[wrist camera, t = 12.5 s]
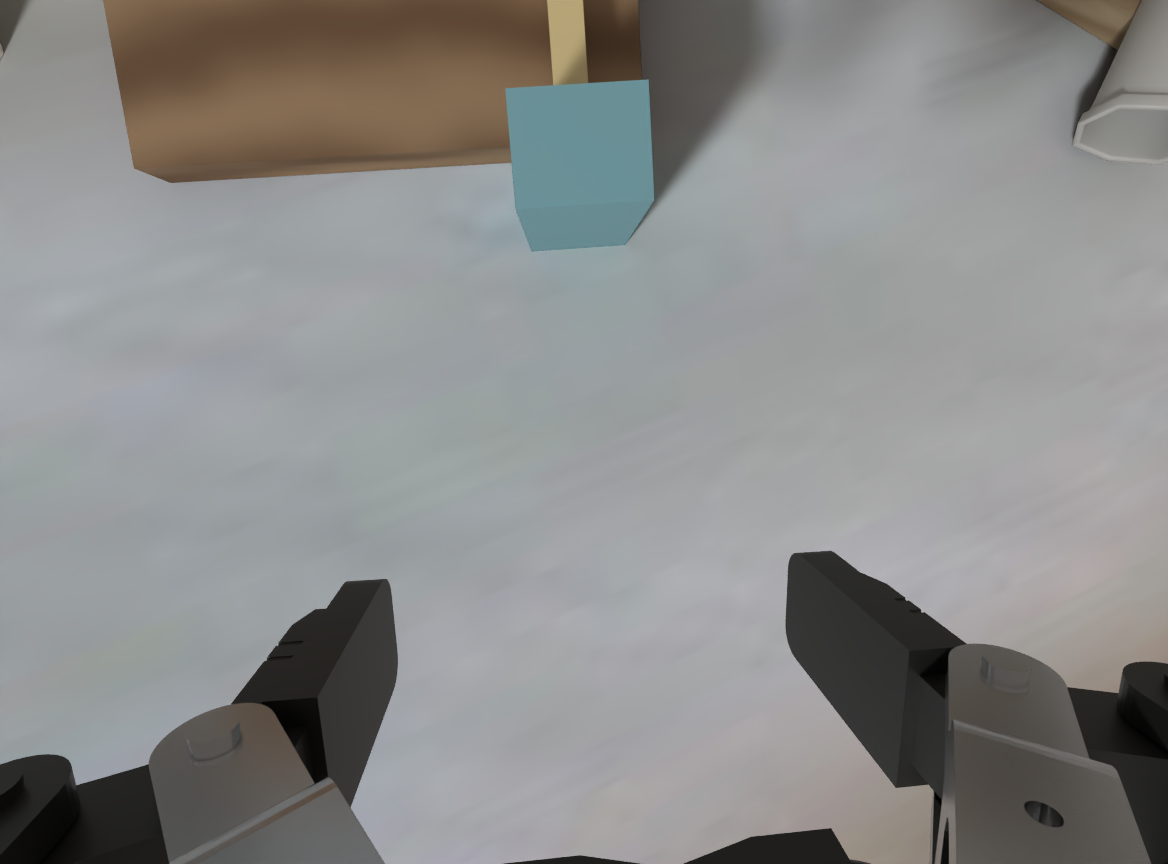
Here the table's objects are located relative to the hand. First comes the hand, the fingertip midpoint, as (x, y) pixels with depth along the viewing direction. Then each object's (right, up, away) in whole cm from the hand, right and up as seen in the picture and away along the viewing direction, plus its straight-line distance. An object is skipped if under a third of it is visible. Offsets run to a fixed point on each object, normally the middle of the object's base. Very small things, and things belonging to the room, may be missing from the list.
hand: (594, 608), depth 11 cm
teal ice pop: (-1, +20, +18) cm, 27 cm away
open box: (-10, +22, +17) cm, 30 cm away
